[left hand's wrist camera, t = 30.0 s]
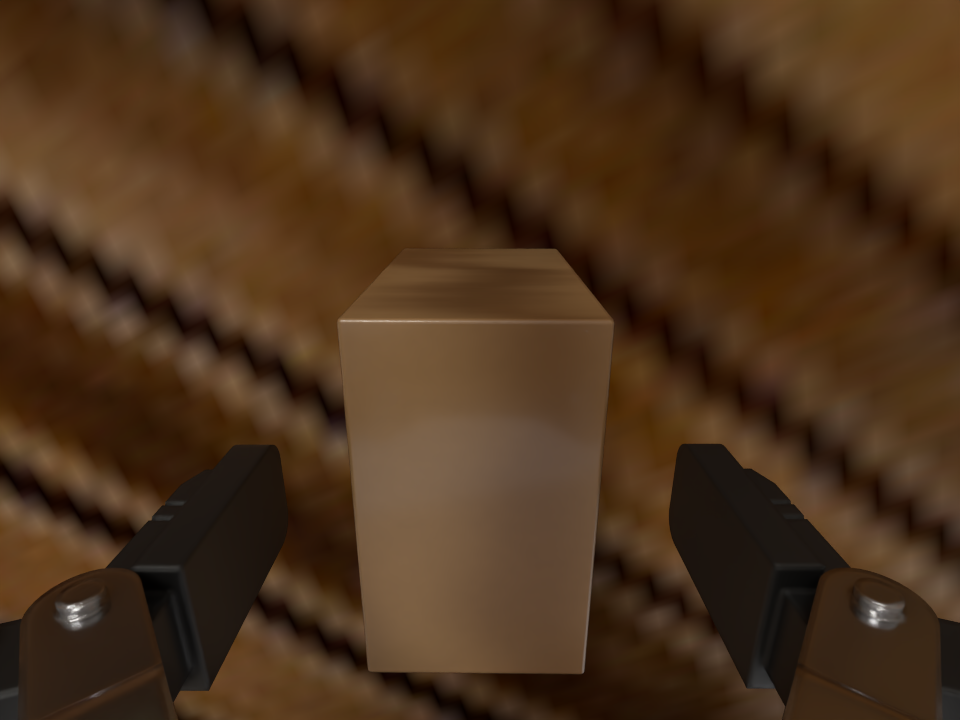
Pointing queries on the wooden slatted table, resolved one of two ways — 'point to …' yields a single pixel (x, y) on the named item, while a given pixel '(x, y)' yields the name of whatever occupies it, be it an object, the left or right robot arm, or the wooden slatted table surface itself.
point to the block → (476, 459)
